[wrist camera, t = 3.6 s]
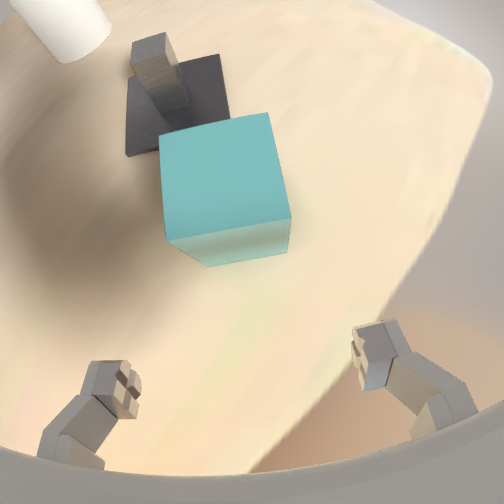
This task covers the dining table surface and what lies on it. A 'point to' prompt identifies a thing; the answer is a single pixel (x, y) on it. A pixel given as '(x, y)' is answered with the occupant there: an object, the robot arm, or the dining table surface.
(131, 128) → the post
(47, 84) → the dining table surface
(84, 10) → the cup
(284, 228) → the teal rectangular block
